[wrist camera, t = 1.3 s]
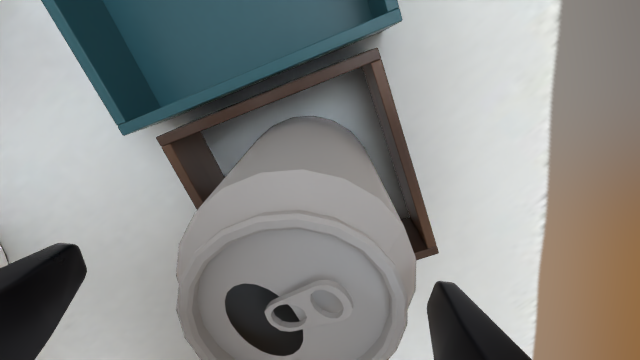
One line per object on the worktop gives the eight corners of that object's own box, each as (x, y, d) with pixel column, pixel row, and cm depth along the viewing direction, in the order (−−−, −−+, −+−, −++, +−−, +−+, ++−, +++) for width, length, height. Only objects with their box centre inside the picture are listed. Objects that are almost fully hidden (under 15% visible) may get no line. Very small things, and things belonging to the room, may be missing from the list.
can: (224, 155, 19) (83, 287, 8) (329, 87, 18) (341, 129, 6) (292, 246, 21) (259, 451, 10) (391, 192, 20) (481, 360, 9)
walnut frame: (419, 220, 21) (439, 253, 17) (265, 270, 22) (254, 310, 18) (366, 50, 17) (377, 47, 14) (187, 123, 19) (155, 137, 15)
